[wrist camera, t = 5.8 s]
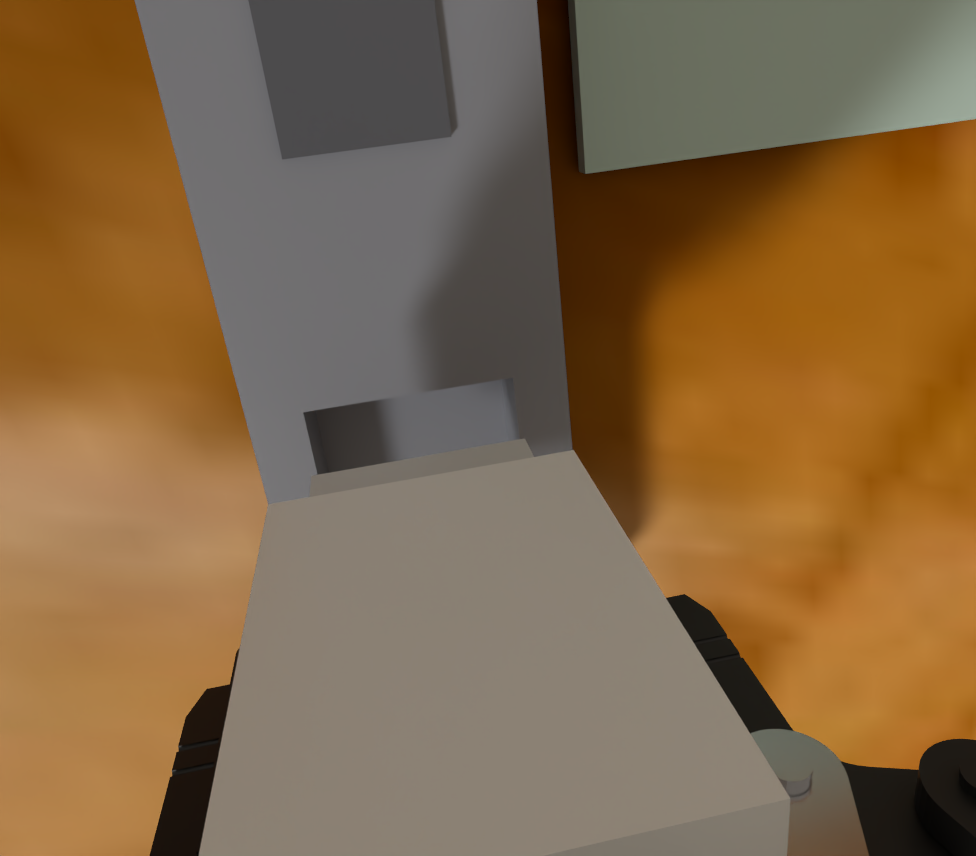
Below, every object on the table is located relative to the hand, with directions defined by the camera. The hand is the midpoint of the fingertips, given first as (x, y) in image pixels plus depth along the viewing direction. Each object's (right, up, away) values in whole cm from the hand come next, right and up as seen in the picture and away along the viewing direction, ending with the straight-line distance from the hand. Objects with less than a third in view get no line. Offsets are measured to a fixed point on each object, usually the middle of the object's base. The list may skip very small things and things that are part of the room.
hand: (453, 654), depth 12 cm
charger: (0, +1, +3) cm, 3 cm away
